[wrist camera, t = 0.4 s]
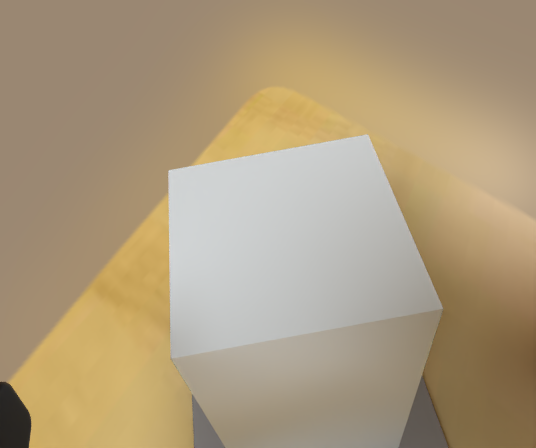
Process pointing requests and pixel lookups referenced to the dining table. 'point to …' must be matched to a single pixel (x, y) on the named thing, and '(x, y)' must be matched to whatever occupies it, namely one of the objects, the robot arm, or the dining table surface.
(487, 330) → the dining table surface
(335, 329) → the cover
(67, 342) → the dining table surface
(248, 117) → the dining table surface
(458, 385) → the dining table surface
